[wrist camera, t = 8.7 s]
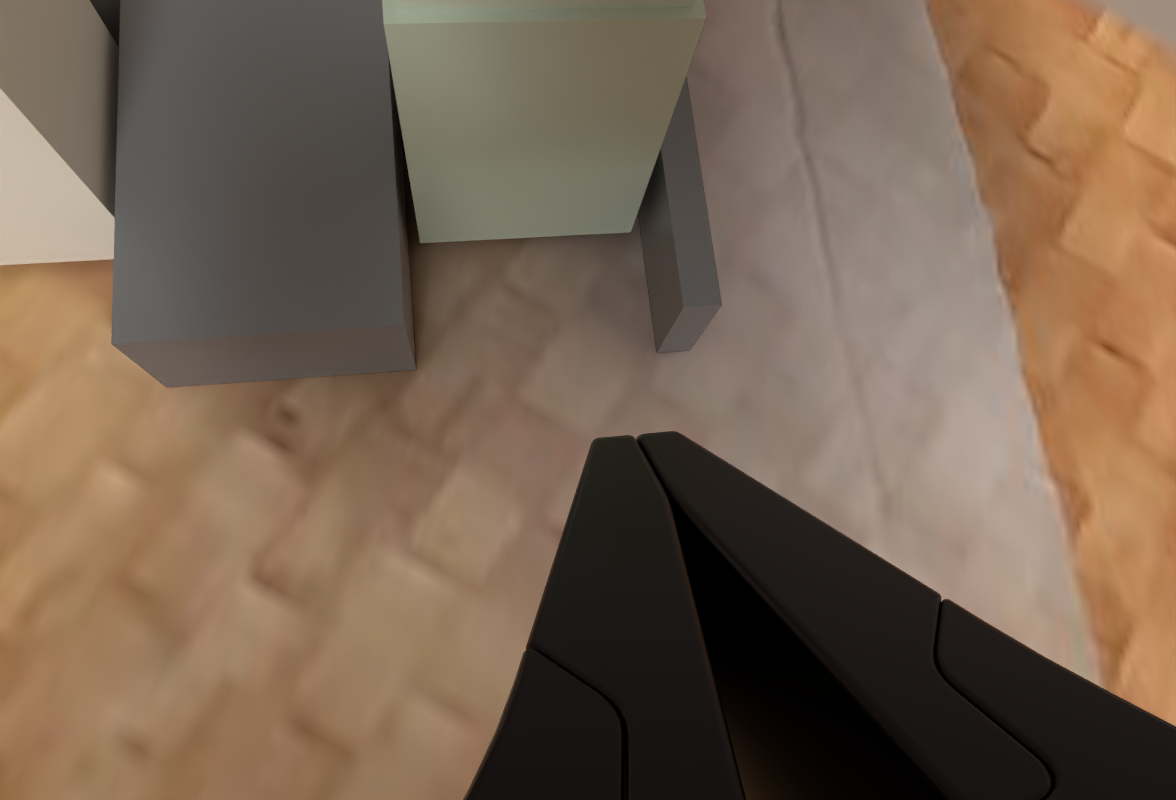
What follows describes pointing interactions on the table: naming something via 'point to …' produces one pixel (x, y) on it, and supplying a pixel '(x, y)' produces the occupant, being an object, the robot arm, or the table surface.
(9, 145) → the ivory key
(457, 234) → the pale green rectangular block
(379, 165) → the gray two-slot stand
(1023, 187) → the table surface
